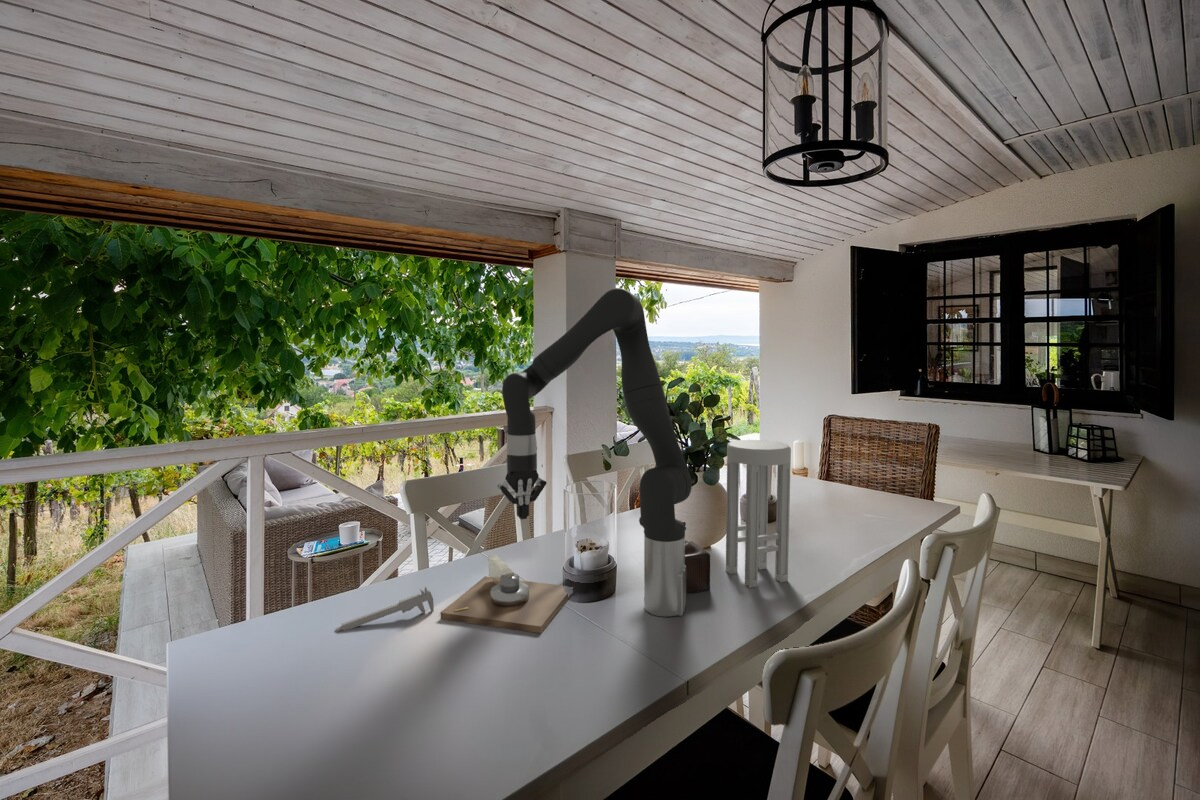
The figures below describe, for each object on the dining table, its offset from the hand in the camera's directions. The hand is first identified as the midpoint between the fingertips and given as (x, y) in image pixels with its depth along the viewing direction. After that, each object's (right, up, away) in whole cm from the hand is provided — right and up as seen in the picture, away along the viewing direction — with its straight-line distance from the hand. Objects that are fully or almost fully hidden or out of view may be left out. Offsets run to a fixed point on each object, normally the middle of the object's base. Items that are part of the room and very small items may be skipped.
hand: (522, 518), depth 146 cm
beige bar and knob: (-3, -16, -8) cm, 18 cm away
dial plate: (-1, -18, -12) cm, 22 cm away
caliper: (-28, -19, -19) cm, 39 cm away
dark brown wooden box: (+38, -17, -2) cm, 42 cm away
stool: (+61, -16, +4) cm, 63 cm away
